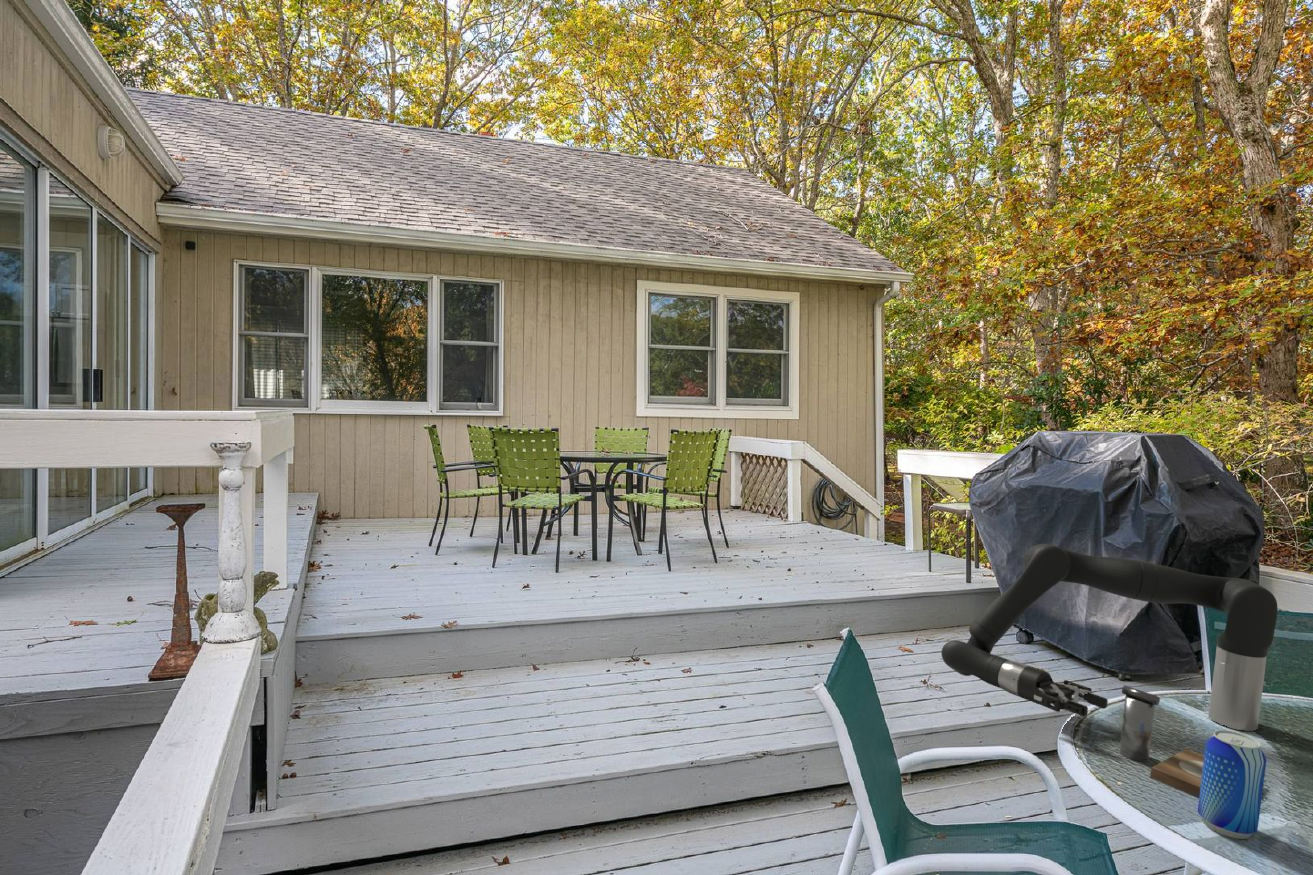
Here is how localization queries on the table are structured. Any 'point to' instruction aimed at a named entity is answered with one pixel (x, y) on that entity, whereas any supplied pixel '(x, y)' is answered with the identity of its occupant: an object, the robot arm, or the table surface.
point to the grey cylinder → (1137, 724)
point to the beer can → (1232, 784)
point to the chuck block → (1181, 771)
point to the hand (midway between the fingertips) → (1096, 707)
